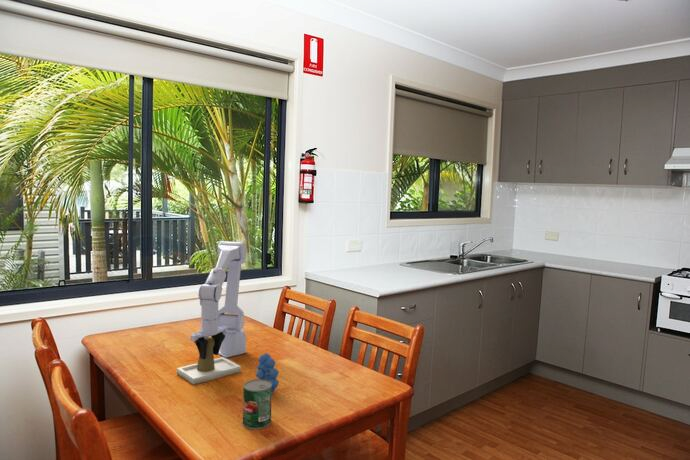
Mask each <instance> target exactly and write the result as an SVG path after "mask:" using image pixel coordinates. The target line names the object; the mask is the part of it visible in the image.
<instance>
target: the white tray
mask: <svg viewBox="0 0 690 460" xmlns="http://www.w3.org/2000/svg"><path fill="white" fill-rule="evenodd" d="M197 365H198V362H197V363H193V364H189V365H185V366H181V367H177V368H176V375H178V376H180V377H181V378H183V379H184V380H186V381H187V382H189V383H190V384H192V385H193V386H194V385H197V384H201V383H206V382H208V381H211V380H215V379H220V378H222V377H226V376H230V375H234V374H237V373H240V372H242V371H241V370H242V366H241V365H239V364H237V363H236V362H234V361H232V360H230V359H228V358H226V357H224V356H221V357H218V358H214V367H215V368H214V370H212V371H209V372H202V371H199V370H197Z"/></svg>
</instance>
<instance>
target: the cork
mask: <svg viewBox="0 0 690 460" xmlns="http://www.w3.org/2000/svg"><path fill="white" fill-rule="evenodd" d="M204 339H205V340H207V341H208V344H207V348H206V358H205V359H201V358H200V355H198V360H197V361H198V362H197V363H198V365H197V370H199V371H202V372H209V371H212V370H214V368H215V367H214V359H215V358H214V355H215V354H213V347H214V344H215V341H214V339H213V338H211V336H209V337H205V338H204Z"/></svg>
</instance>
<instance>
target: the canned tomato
mask: <svg viewBox="0 0 690 460" xmlns="http://www.w3.org/2000/svg"><path fill="white" fill-rule="evenodd" d="M242 393H243V395H242V396H243V398H242V426H243V427H244V428H246V429H250V430H262V429H265V428H267V427H269V426H270V425H271V423H272V399H273V398H272V394H273V393H272V383H271V382H270V381H267V380H262V379H259V378H257V379H251V380H247V381H246V382H244V384H243V392H242Z"/></svg>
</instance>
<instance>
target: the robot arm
mask: <svg viewBox="0 0 690 460" xmlns="http://www.w3.org/2000/svg"><path fill="white" fill-rule="evenodd" d="M247 251H248V249H247V244H246V243H245V242H244V241H230V240H229V241H228V240H227V241H226V240H225V241H224V240H220V241H219V243H218V245H217V254H218V260H217V261H216V264H215V265H216V266H215V267H213V268H211V270H210V271H209V274H208V276H207V278H206V280H205V283H204V284H201V285H200V286H199V288H198V293H197V294H198V299H199V305H200V308H201V309H200V310H201V313H200V315H201V319H200V321H201V322H200V323H201V325H200V328H201V329H199V330H198V331H195V332H194V333H191V334H190V338H189V340H190V341H192V342H193V343H194V344H195V346H196V347H197V350H198V354H199V355H200V358H201V359H205V358H206V348H207V344H208V341H207V340H205V339H204V338H205V337H211V338H213V339H214V341H215V344H214V347H213V355H216V356H218V355H219V356H220V355H221V357H224V358H226V359H228V358H230V357H235V356H238V355H242V354H243V355H244V354H246V353H247V350H246V345H247V342H246V341H247V337H246V336H247V335H246V332H245V330H244V329H243V328H244V324H245V317H244V316H245V315H244V314H245V313H244V310H243V309H241V308H240V307H239V306H238V300H239V288H240V281H241V280H240V279H241V269H242V265H243V264H245V263H246V260H247ZM226 270H227V273H226ZM226 277H227V278H226ZM225 280H226V289H225V298H224V306H222V307H221V308H219V302H220V299H221V297H222V292H223V285H224V282H225ZM199 355H198V356H199Z"/></svg>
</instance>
